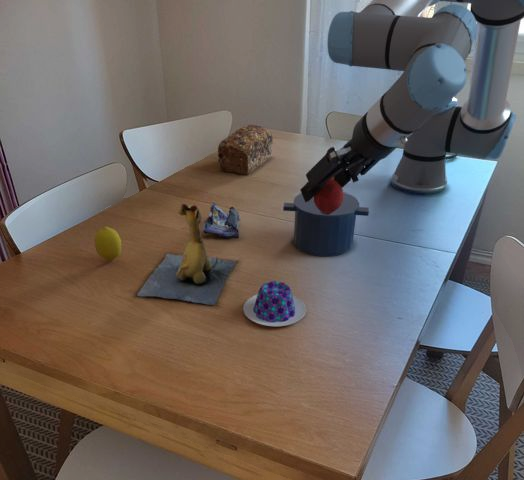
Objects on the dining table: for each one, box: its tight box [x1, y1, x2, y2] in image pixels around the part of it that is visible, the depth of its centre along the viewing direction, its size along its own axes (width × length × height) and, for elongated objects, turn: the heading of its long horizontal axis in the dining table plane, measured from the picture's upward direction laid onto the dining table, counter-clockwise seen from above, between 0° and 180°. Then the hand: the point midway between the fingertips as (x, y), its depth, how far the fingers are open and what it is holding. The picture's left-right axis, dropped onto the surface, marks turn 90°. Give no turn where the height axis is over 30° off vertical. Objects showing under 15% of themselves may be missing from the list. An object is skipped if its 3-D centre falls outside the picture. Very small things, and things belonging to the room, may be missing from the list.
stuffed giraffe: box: [136, 203, 238, 306], centre depth 110 cm, size 16×18×16 cm
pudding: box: [242, 280, 307, 327], centre depth 103 cm, size 12×12×5 cm
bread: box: [217, 124, 274, 176], centre depth 167 cm, size 19×11×10 cm, turn 155°
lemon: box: [94, 226, 123, 262], centre depth 118 cm, size 6×6×8 cm
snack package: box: [202, 202, 241, 240], centre depth 132 cm, size 12×6×12 cm
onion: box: [314, 177, 344, 215], centre depth 107 cm, size 6×6×8 cm
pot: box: [282, 202, 370, 257], centre depth 125 cm, size 14×19×10 cm
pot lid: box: [293, 191, 360, 218], centre depth 122 cm, size 15×15×4 cm
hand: (317, 192), depth 110 cm, fingers closed on onion, 6 cm apart
